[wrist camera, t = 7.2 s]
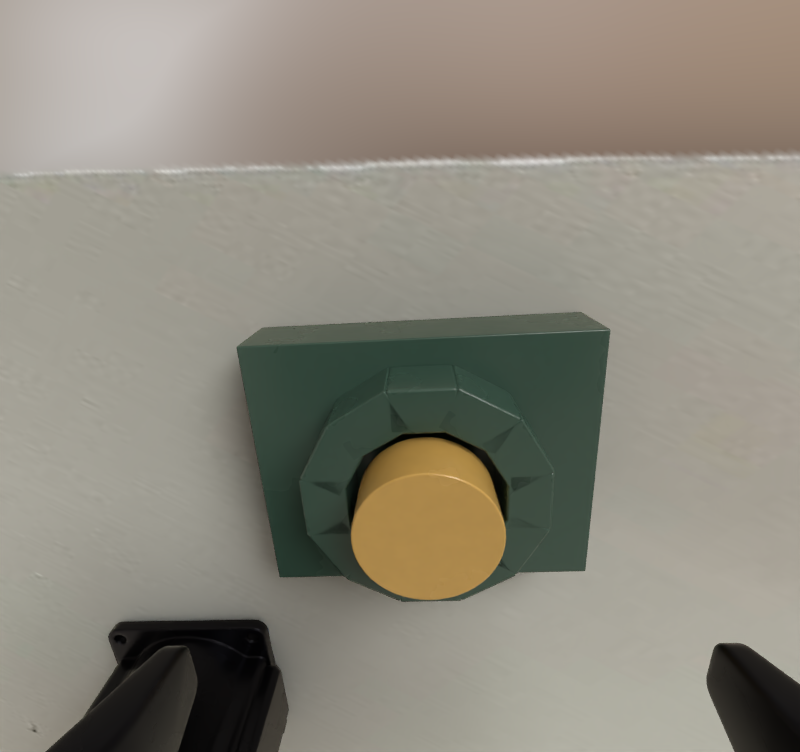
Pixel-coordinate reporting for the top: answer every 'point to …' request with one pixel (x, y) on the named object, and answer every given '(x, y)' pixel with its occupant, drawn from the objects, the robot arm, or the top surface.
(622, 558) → the top surface
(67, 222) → the top surface
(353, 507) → the box
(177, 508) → the top surface
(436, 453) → the release button
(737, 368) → the top surface
